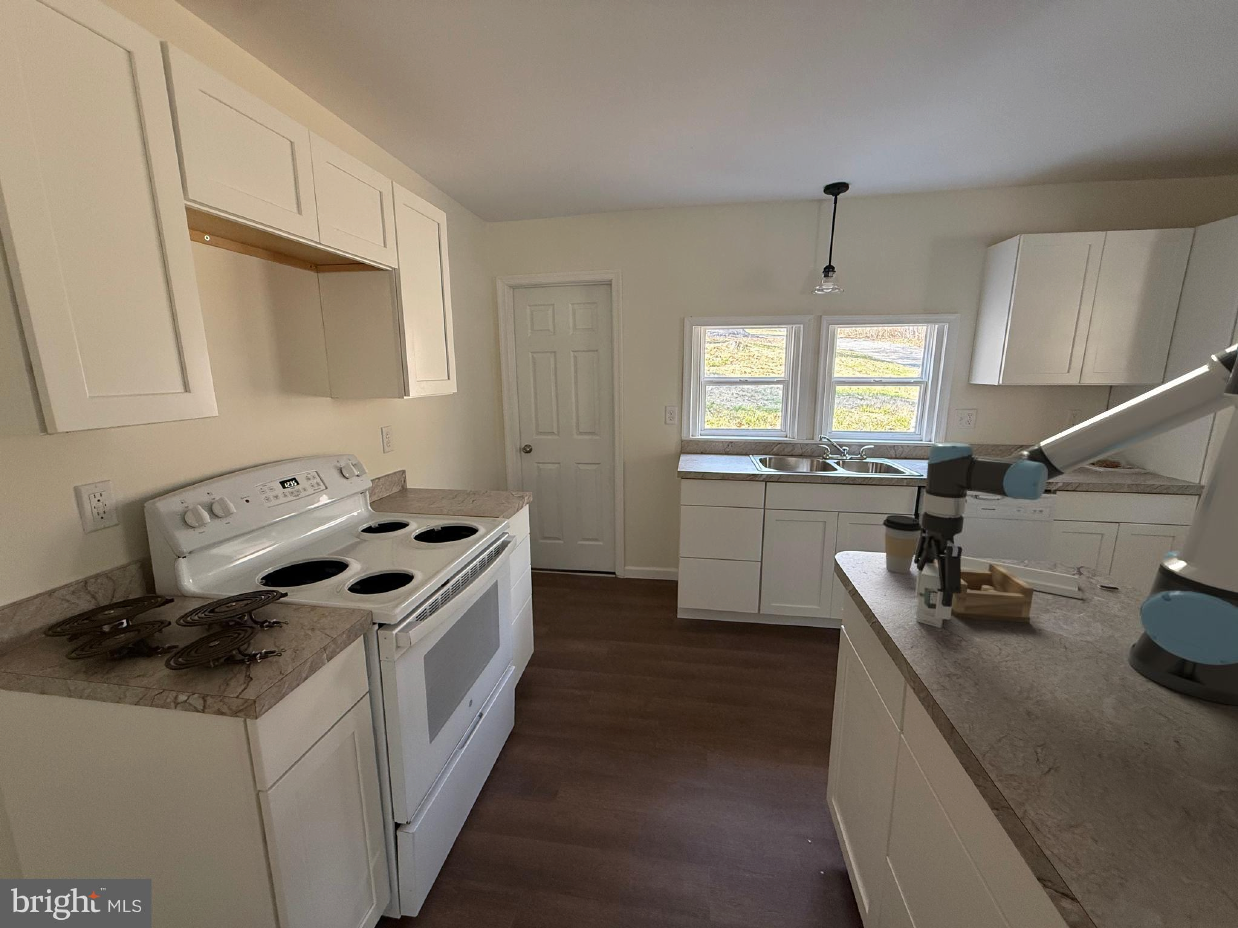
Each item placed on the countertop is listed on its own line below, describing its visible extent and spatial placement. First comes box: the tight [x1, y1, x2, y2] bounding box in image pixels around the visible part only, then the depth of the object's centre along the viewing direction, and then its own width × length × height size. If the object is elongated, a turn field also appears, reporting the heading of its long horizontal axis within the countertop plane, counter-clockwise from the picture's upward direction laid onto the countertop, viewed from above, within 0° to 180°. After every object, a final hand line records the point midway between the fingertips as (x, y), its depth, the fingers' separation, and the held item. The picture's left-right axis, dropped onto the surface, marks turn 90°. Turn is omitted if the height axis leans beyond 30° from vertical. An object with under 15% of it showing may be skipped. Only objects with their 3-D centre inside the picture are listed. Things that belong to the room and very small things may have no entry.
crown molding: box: [935, 555, 1082, 600], centre depth 129 cm, size 31×12×4 cm, turn 53°
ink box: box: [915, 563, 944, 629], centre depth 107 cm, size 9×5×12 cm, turn 141°
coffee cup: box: [882, 514, 922, 574], centre depth 133 cm, size 9×9×15 cm
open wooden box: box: [933, 560, 1035, 624], centre depth 112 cm, size 14×15×8 cm
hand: (931, 606), depth 107 cm, fingers closed on ink box, 9 cm apart
